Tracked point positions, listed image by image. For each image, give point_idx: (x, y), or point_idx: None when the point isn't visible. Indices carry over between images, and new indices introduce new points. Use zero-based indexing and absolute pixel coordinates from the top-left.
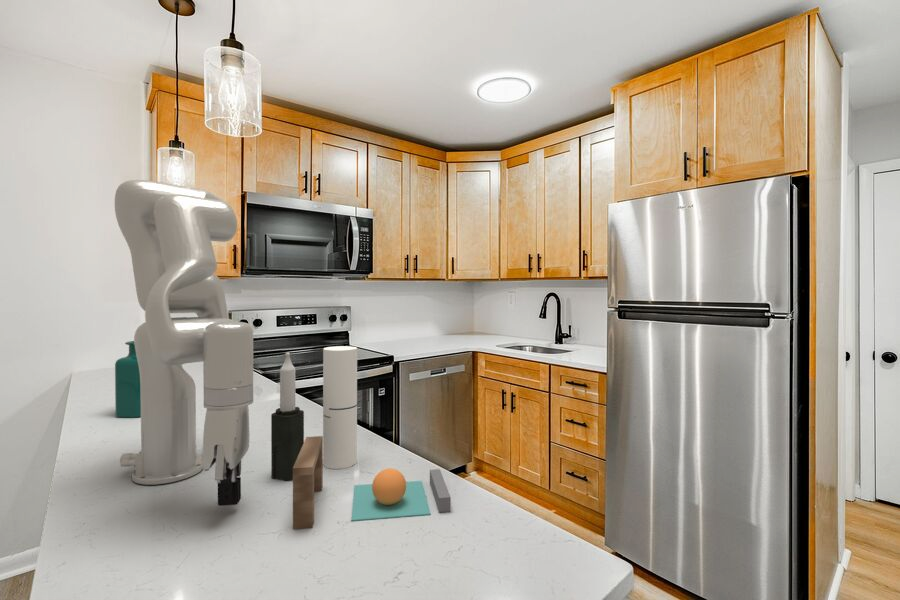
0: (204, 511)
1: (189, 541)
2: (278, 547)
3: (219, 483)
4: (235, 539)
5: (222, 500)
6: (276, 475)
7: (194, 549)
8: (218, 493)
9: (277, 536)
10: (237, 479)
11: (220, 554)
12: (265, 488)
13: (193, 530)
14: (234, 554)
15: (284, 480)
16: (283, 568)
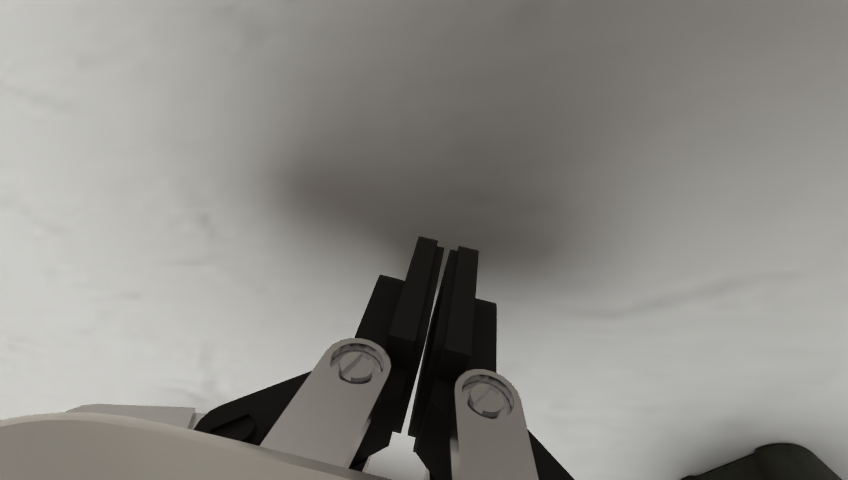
0: (507, 132)
1: (167, 91)
2: (115, 383)
3: (346, 348)
4: (171, 276)
5: (380, 279)
6: (754, 475)
7: (96, 124)
8: (405, 280)
9: (181, 389)
10: (413, 435)
11: (65, 227)
12: (650, 406)
13: (279, 96)
14: (68, 271)
15: (690, 477)
16: (10, 379)
